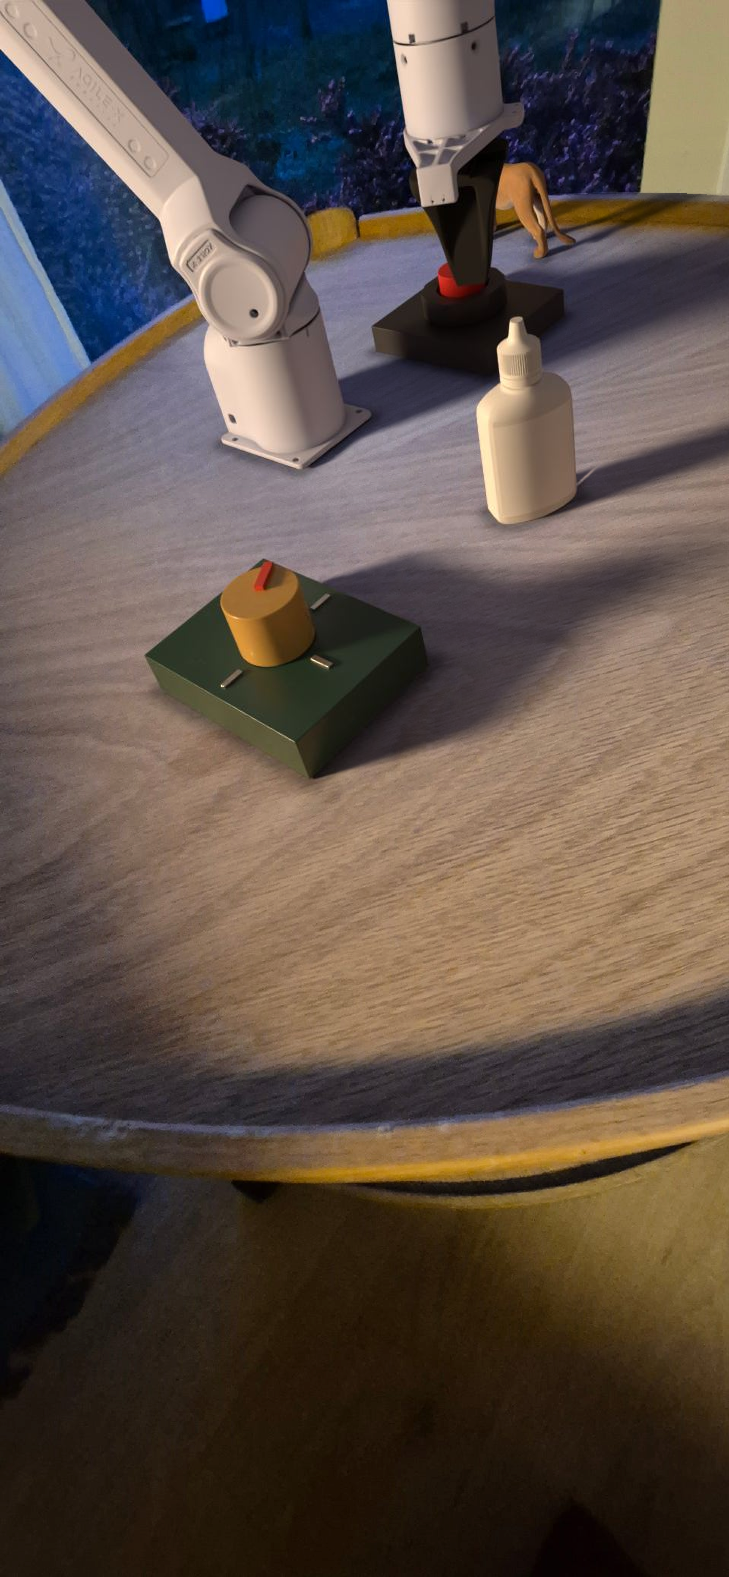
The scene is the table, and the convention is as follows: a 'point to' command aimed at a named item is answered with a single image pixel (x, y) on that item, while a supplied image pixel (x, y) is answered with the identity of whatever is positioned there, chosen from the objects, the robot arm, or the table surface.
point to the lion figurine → (528, 202)
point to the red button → (454, 284)
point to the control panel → (294, 676)
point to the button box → (466, 323)
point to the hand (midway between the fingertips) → (473, 280)
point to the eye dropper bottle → (526, 434)
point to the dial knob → (268, 615)
